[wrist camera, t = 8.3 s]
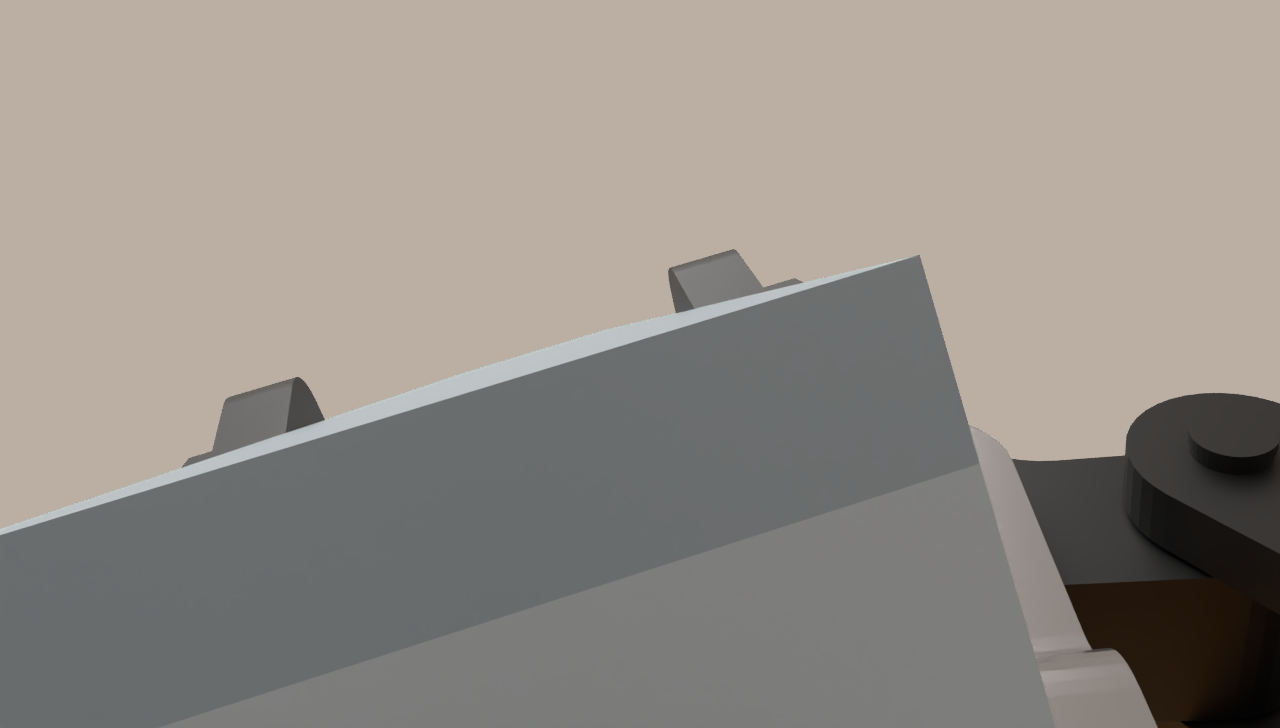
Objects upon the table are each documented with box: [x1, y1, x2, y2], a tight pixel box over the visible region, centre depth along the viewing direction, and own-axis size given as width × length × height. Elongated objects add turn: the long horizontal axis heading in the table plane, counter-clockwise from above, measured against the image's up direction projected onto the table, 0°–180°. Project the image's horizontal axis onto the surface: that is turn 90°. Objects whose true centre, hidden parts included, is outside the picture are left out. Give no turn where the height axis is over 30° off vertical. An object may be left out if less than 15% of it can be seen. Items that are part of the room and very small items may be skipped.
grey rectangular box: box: [0, 255, 1056, 728], centre depth 16 cm, size 24×4×3 cm, turn 5°
